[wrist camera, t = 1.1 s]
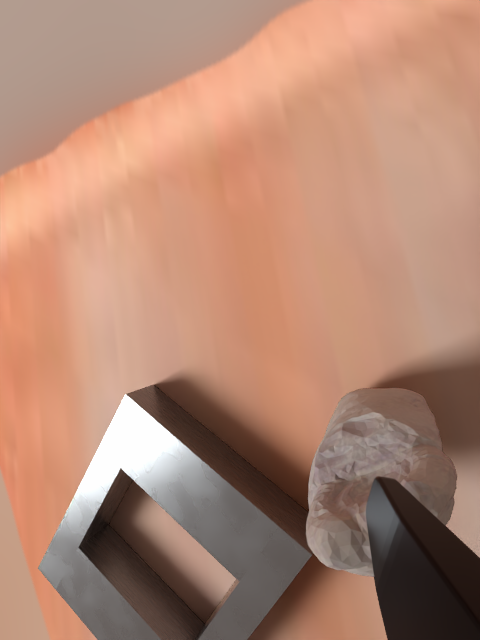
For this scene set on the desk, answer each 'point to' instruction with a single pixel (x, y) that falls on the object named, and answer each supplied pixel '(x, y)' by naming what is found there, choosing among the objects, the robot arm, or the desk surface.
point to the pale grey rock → (373, 471)
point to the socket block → (190, 512)
